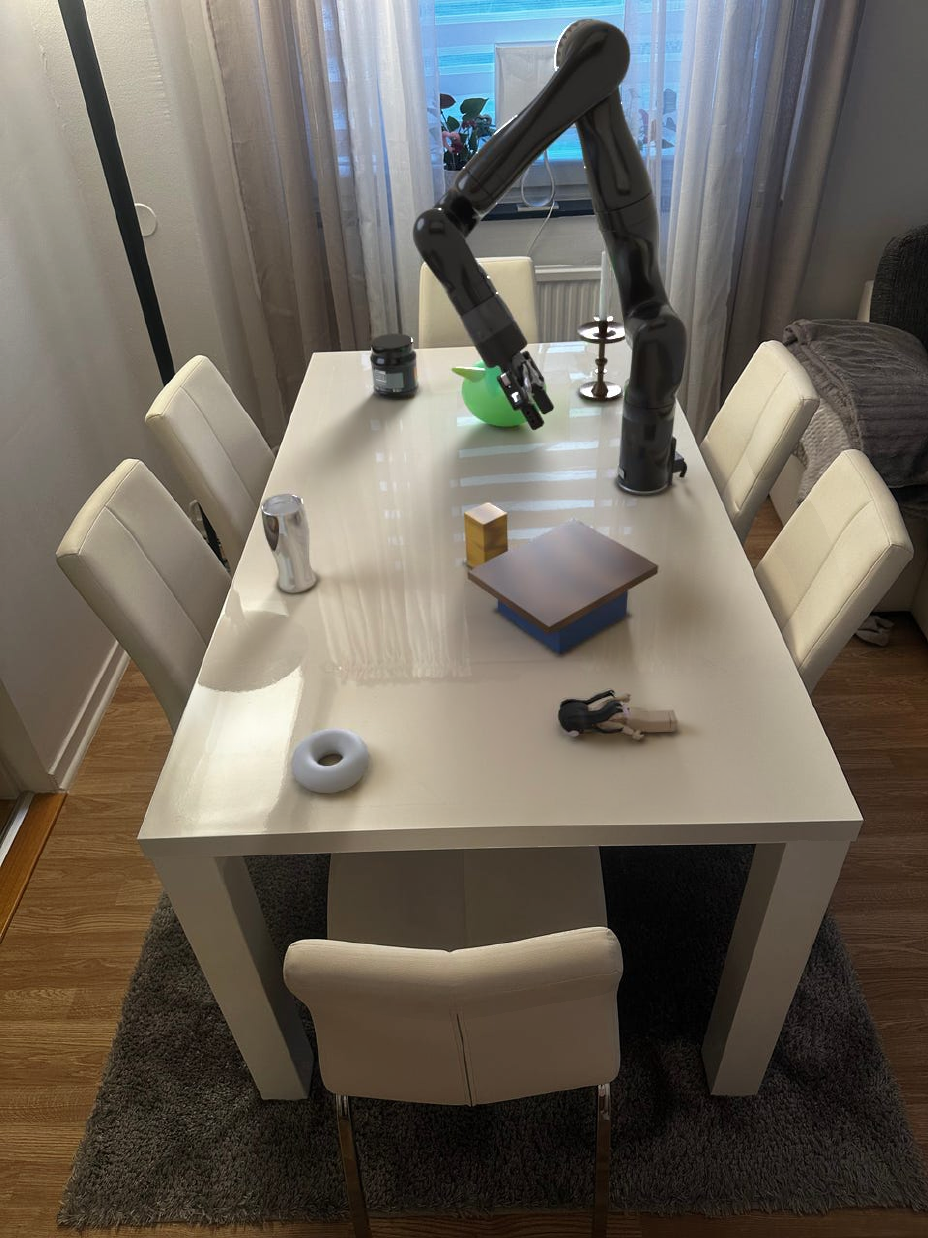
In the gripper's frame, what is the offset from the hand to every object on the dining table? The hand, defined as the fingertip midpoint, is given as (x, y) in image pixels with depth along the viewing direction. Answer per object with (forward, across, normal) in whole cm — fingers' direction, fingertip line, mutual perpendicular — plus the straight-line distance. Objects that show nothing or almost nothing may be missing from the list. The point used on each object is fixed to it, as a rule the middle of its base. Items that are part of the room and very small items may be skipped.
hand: (544, 419), depth 145 cm
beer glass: (+1, -21, +44) cm, 49 cm away
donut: (+16, -59, +29) cm, 67 cm away
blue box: (+24, -21, +6) cm, 33 cm away
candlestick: (+11, +59, +5) cm, 61 cm away
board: (+18, -22, +3) cm, 29 cm away
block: (+15, -10, +18) cm, 25 cm away
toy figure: (+33, -44, -1) cm, 55 cm away
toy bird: (+4, +42, +22) cm, 47 cm away
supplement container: (-12, +53, +44) cm, 70 cm away
